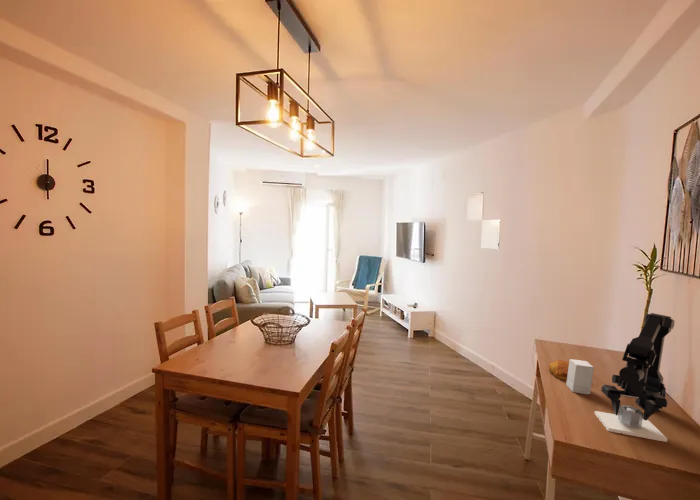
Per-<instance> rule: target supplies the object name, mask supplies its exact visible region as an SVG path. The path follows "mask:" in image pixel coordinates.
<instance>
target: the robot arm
mask: <svg viewBox="0 0 700 500" xmlns="http://www.w3.org/2000/svg"><path fill="white" fill-rule="evenodd" d="M643 323H644V324H643V327H642V329H641V330H640V333H639V335H638V336H637V337H634V338H632V339H631V340H630V342H629V343H627V345H626V347H625V349H624V353H623V356H622V359H621V360H622V361H623V362H626V365H625V366H624V367H622V368H621V369H620V370H619V373H618V374H612V377H611V381H612V384H616V385H617V387H619V388H621V389H622V390H621V389H618V388H617V387H616V386H614V385H609V384H603V385H602V386H601V392H602V393H603V394H604V396H605V397H607V398H608V399H609V400H610V402H611V405H612V408H613V414H615V415H618V414H619V408H620V406H621V399H620V398H621V397H626V398H630V399H631V398H632V399H635V401H634V403H636V404H637V406H639V407H640V408H641V409H643V419H644V420H645V421H646V420H649V418H650V417H651V416H652V415H653V414H654V413H656V412H657V413H658V412H659V413H660V412H662V409H663V408H668V404H669V403H668V400H667V398H666V394H667V389H666V387H665V383H664V377H663V375H662V373H661V372H660V368H661V363H662V362H661V361H662V355H663V348H664V344H665V337H666V336H667V335H668V334H670V332H671V331H672V330H674V327H675V323H676V322H675V320H674V318H673V319H672V317H671V316H668V315H664V314H659V313H654V312H651V313H645V315H644V320H643Z"/></svg>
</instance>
